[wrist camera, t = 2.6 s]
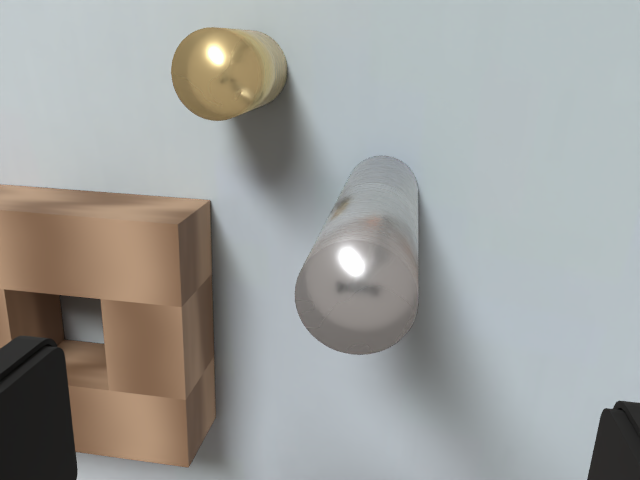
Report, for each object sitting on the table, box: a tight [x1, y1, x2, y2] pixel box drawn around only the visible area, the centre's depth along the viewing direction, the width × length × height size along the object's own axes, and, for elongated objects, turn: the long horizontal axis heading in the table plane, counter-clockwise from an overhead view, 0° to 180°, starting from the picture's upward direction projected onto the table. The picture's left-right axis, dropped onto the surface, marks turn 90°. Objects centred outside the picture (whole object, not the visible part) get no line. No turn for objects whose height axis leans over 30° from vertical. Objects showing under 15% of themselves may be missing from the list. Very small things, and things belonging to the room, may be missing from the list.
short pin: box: [171, 27, 287, 121], centre depth 24 cm, size 3×3×5 cm
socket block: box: [0, 185, 216, 467], centre depth 29 cm, size 12×12×4 cm
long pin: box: [295, 156, 419, 355], centre depth 21 cm, size 3×3×12 cm
